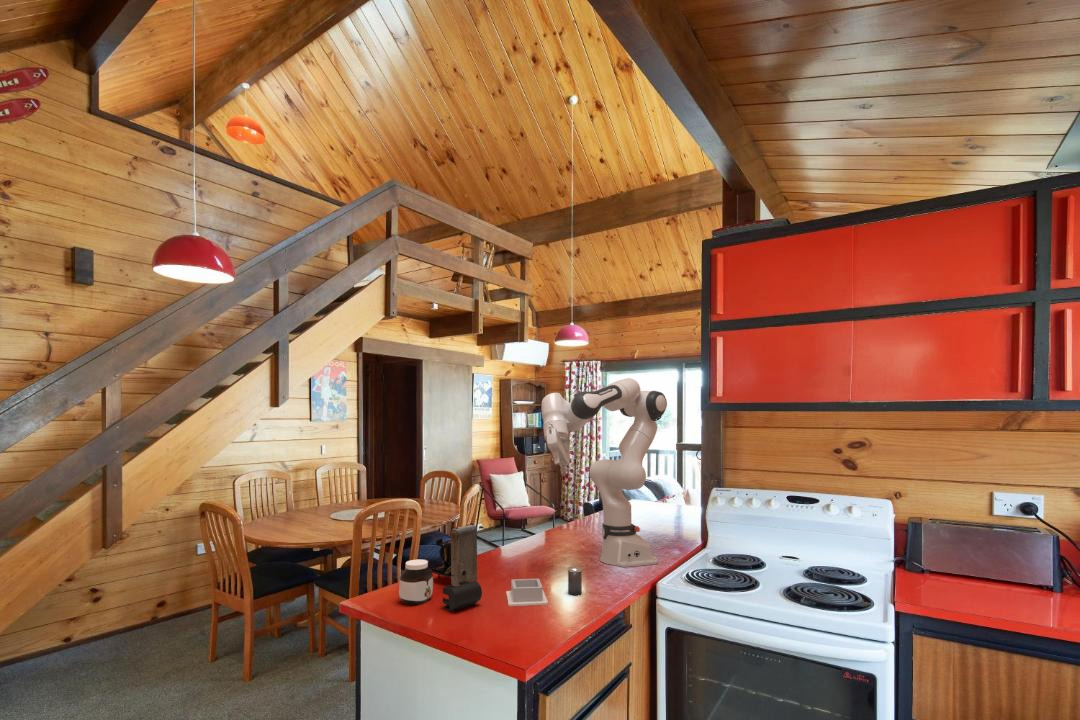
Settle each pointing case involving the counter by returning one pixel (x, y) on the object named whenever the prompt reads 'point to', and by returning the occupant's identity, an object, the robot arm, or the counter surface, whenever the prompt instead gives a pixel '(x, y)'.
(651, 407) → the robot arm
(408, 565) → the spread jar
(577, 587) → the brown cylinder
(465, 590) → the end cap
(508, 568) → the counter surface
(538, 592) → the open square tray
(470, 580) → the vintage camera
